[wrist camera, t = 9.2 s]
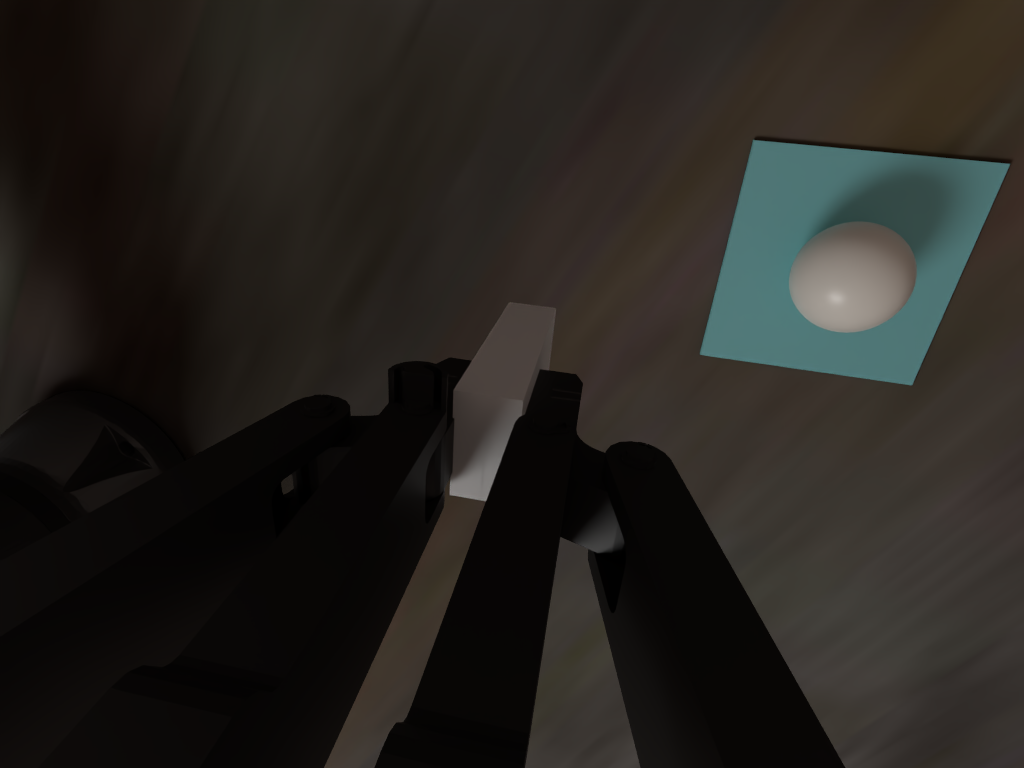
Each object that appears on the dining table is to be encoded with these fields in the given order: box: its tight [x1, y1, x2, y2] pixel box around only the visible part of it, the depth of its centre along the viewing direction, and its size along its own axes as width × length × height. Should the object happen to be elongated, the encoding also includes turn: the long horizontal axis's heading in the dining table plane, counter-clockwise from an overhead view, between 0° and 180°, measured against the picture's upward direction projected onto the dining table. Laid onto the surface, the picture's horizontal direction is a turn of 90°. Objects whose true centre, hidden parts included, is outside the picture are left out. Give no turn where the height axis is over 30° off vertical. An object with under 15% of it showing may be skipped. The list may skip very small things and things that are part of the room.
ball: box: [789, 221, 917, 333], centre depth 28 cm, size 6×6×6 cm
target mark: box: [700, 140, 1010, 385], centre depth 30 cm, size 12×12×1 cm
